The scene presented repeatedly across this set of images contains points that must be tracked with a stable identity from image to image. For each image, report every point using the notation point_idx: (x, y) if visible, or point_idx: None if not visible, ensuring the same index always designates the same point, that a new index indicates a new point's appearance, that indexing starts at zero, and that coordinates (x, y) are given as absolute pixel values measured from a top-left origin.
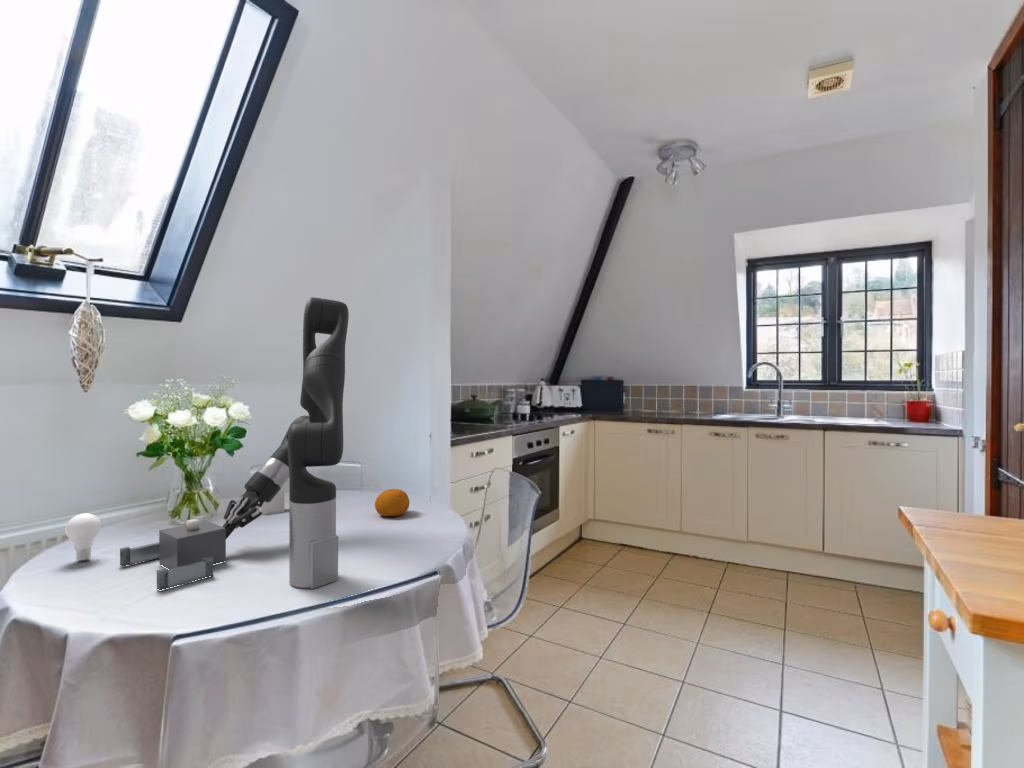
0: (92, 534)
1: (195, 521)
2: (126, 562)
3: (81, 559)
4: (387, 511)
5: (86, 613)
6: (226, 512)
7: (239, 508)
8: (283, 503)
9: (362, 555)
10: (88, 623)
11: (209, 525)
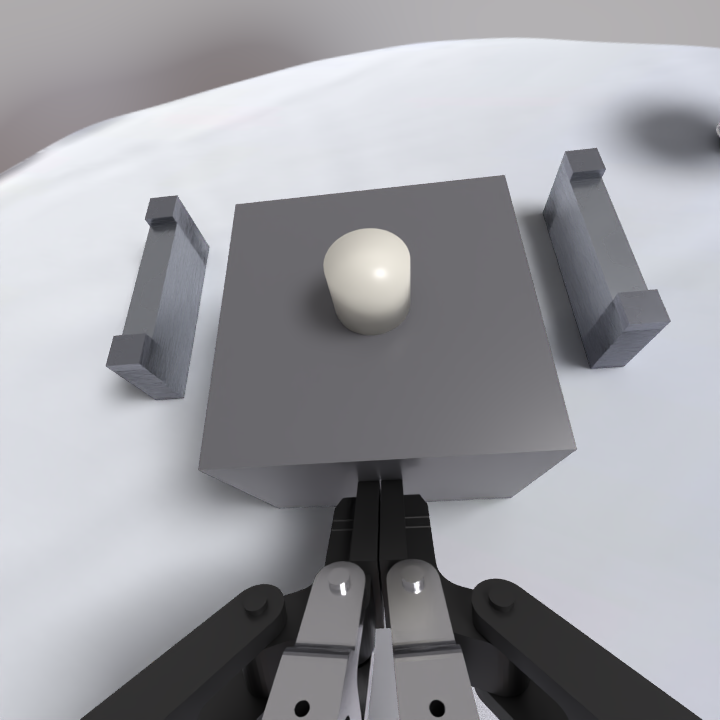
0: None
1: (325, 269)
2: (549, 209)
3: (717, 125)
4: None
5: (209, 129)
6: (572, 643)
7: None
8: None
9: None
10: (147, 129)
11: (382, 410)
